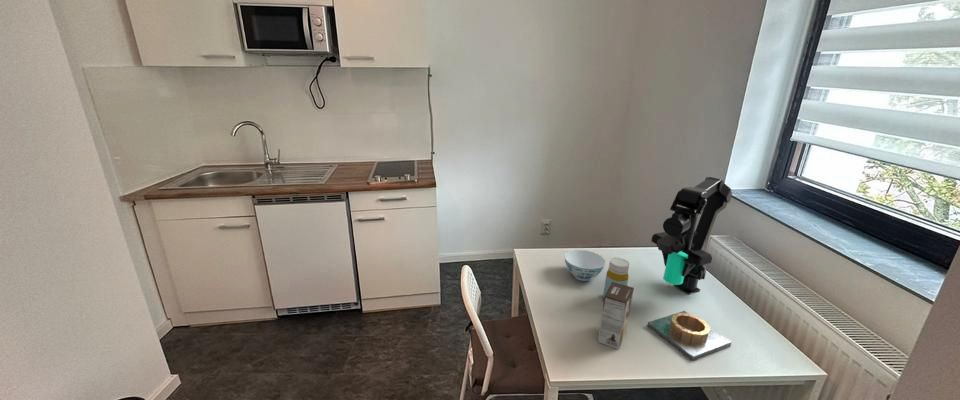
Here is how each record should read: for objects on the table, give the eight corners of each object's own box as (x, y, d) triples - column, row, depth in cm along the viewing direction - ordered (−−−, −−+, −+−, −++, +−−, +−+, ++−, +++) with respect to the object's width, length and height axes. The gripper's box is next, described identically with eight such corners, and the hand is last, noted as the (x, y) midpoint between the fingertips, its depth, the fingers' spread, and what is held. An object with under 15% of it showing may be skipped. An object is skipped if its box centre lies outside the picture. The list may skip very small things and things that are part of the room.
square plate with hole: (683, 314, 124) (686, 302, 122) (730, 346, 110) (734, 333, 108) (646, 326, 117) (649, 314, 116) (692, 361, 104) (695, 347, 102)
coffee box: (605, 325, 117) (612, 280, 112) (626, 332, 114) (634, 287, 109) (596, 342, 110) (604, 295, 105) (619, 350, 107) (628, 302, 102)
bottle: (625, 307, 127) (632, 268, 122) (603, 304, 128) (609, 265, 123) (622, 296, 133) (628, 258, 128) (601, 293, 134) (607, 256, 129)
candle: (680, 276, 128) (687, 244, 124) (685, 285, 122) (693, 252, 118) (661, 274, 129) (667, 242, 125) (665, 283, 123) (672, 250, 119)
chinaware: (607, 274, 147) (609, 256, 145) (596, 291, 135) (598, 272, 133) (570, 263, 155) (572, 246, 152) (556, 279, 143) (558, 261, 140)
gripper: (642, 220, 124) (635, 262, 130) (691, 243, 108) (681, 290, 113) (667, 216, 129) (659, 257, 134) (718, 238, 112) (706, 283, 117)
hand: (674, 270), depth 124 cm, fingers closed on candle, 7 cm apart
